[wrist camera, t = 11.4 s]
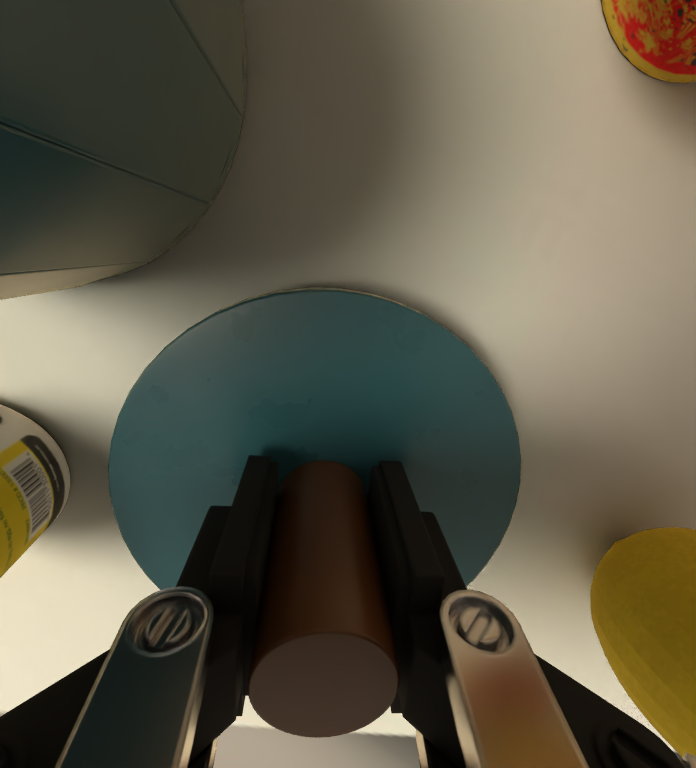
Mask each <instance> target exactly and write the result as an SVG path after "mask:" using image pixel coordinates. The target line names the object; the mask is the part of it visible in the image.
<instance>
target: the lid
mask: <svg viewBox="0 0 696 768" xmlns="http://www.w3.org/2000/svg"><path fill="white" fill-rule="evenodd" d="M249 455H259V456H271V462H278V464H279V466H278V497H277V506H276V512H275V518H274V525H273V531H272V537H271V543H270V549H269V555H268V561H267V567H266V573H265V579H264V585H263V591H262V597H261V604H260V610H259V616H258V622H257V628H256V634H255V638H254V643H253V649H252V656H251V662H250V668H249V674H248V681H247V690H248V696H249V699H250V702H251V704H252V706H253V708H254V710H255V711H256V712H257V714H258V715H259V716H260V717H261V718H262V719H263V720H264V721H266V722H267V723H268V724H270V725H271V726H273V727H275V728H277V729H279V730H281V731H284V732H286V733H290V734H293V735H298V736H304V737H331V736H338V735H342V734H346V733H350V732H353V731H356V730H358V729H360V728H362V727H365V726H366V725H368V724H370V723H372V722H373V721H375V720H376V719H377V718H379V717H380V716H381V715H382V714H383V713H384V712H385V711H386V710H387V709H388V708H389V707H390V705H391V704H392V702H393V701H394V699H395V697H396V695H397V692H398V688H399V684H400V669H399V664H398V659H397V654H396V648H395V643H394V638H393V633H392V628H391V623H390V617H389V612H388V607H387V602H386V596H385V591H384V586H383V581H382V575H381V570H380V565H379V560H378V555H377V549H376V544H375V539H374V534H373V528H372V523H371V518H370V513H369V507H368V502H367V500H368V491H369V483H370V474H371V468H372V466H378V465H379V462H380V460H382V461H401V462H402V465H403V467H404V470H405V472H406V475H407V478H408V480H409V483H410V485H411V488H412V491H413V493H414V496H415V498H416V501H417V504H418V506H419V509H420V512H432V513H434V515H435V517H436V519H437V521H438V523H439V526H440V528H441V530H442V533H443V535H444V537H445V539H446V542H447V544H448V546H449V549H450V551H451V553H452V556H453V558H454V560H455V563H456V565H457V567H458V570H459V572H460V574H461V576H462V579H463V581H464V583H465V586H466V587H467V586H468V585H469V584H470V583H471V582H472V581H473V580H474V579H475V577H476V576H477V575H478V574H479V573H480V572H481V570H482V569H483V568H484V567H485V566H486V564H487V563H488V562H489V560H490V559H491V557H492V556H493V554H494V553H495V551H496V549H497V548H498V546H499V545H500V543H501V541H502V539H503V537H504V535H505V533H506V530H507V528H508V526H509V524H510V521H511V518H512V515H513V512H514V509H515V506H516V502H517V496H518V491H519V485H520V471H521V455H520V447H519V438H518V433H517V429H516V425H515V422H514V418H513V414H512V411H511V409H510V407H509V404H508V402H507V400H506V398H505V395H504V393H503V391H502V389H501V387H500V386H499V384H498V383H497V381H496V380H495V378H494V376H493V375H492V373H491V372H490V370H489V369H488V367H487V366H486V365H485V364H484V363H483V362H482V361H481V359H480V358H479V357H478V356H477V355H476V354H475V353H474V351H473V350H472V349H471V348H470V347H469V346H468V345H466V344H465V343H464V342H463V341H462V340H460V339H459V338H458V337H457V336H456V335H455V334H453V333H452V332H451V331H450V330H448V329H447V328H445V327H444V326H442V325H440V324H439V323H437V322H436V321H434V320H432V319H431V318H429V317H428V316H426V315H424V314H423V313H421V312H419V311H417V310H415V309H412V308H410V307H408V306H406V305H404V304H401V303H399V302H397V301H394V300H391V299H388V298H384V297H381V296H377V295H374V294H370V293H367V292H361V291H354V290H347V289H340V288H299V289H291V290H282V291H275V292H271V293H268V294H264V295H260V296H256V297H252V298H248V299H245V300H243V301H241V302H238V303H236V304H233V305H231V306H229V307H226V308H224V309H221V310H219V311H217V312H216V313H214V314H212V315H210V316H209V317H207V318H205V319H204V320H202V321H200V322H199V323H197V324H195V325H193V326H192V327H190V328H189V329H187V330H186V331H185V332H183V333H182V334H181V335H180V336H178V337H177V338H176V339H175V340H174V341H172V342H171V343H170V344H169V345H167V346H166V347H165V348H164V349H163V350H162V351H161V352H160V353H159V354H158V355H157V356H156V358H155V359H154V360H153V361H152V362H151V363H150V364H149V365H148V366H147V367H146V368H145V370H144V371H143V373H142V374H141V376H140V377H139V379H138V380H137V382H136V383H135V385H134V386H133V387H132V389H131V390H130V392H129V394H128V396H127V399H126V401H125V403H124V405H123V407H122V409H121V411H120V413H119V416H118V419H117V423H116V426H115V430H114V433H113V437H112V440H111V448H110V456H109V465H108V472H109V492H110V497H111V502H112V507H113V512H114V516H115V519H116V521H117V524H118V527H119V530H120V532H121V535H122V537H123V539H124V541H125V543H126V545H127V547H128V548H129V550H130V552H131V554H132V556H133V558H134V559H135V560H136V562H137V563H138V564H139V566H140V567H141V568H142V570H143V571H144V573H145V574H146V575H147V576H148V577H149V579H150V580H151V581H152V582H153V583H154V584H155V585H156V586H157V587H158V588H159V589H160V590H164V589H166V588H172V587H176V585H177V582H178V580H179V578H180V575H181V573H182V571H183V568H184V566H185V564H186V561H187V559H188V556H189V554H190V552H191V549H192V547H193V545H194V542H195V540H196V538H197V535H198V533H199V530H200V528H201V526H202V523H203V521H204V519H205V516H206V514H207V512H208V510H209V508H210V506H212V505H215V506H232V503H233V500H234V497H235V494H236V492H237V489H238V486H239V483H240V480H241V477H242V474H243V471H244V468H245V465H246V462H247V459H248V456H249Z"/></svg>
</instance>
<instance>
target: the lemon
mask: <svg viewBox="0 0 696 768" xmlns="http://www.w3.org/2000/svg"><path fill="white" fill-rule="evenodd" d="M590 599H591V615H592V620H593V624H594V628H595V631H596V633H597V636H598V638H599V641H600V643H601V646H602V648H603V651H604V653H605V656H606V658H607V660H608V662H609V664H610V666H611V668H612V670H613V671H614V673H615V675H616V677H617V678H618V680H619V682H620V683H621V685H622V686H623V688H624V689H625V691H626V692H627V694H628V695H629V697H630V698H631V699H632V701H633V702H634V703H635V705H636V706H637V707H638V709H639V710H640V711H641V712H642V714H643V715H644V716H645V717H646V718H647V720H648V721H649V722H650V723H651V724H652V726H653V727H654V728H655V729H656V730H657V731H658V732H659V733H660V734H661V735H662V737H663V738H664V739H665V740H666V741H667V742H668V743H669V744H670V745H671V746H672V747H673V748H674V749H675V750H676V751H677V752H678V753H679V754H680V755H681V756H682V757H683V756H684V754H685V752H686V753H689V754H691V755H694V756H696V530H694V529H688V528H678V527H668V528H655V529H648V530H645V531H641V532H637V533H635V534H633V535H631V536H629V537H627V538H625V539H623V540H618V541H616V542H615V543H614V544H613V545H612V547H611V549H610V550H609V551H608V552H607V553H606V554H605V555H604V556H603V558H602V559H601V561H600V563H599V564H598V566H597V568H596V571H595V574H594V577H593V581H592V584H591V593H590Z"/></svg>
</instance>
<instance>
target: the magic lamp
mask: <svg viewBox="0 0 696 768" xmlns="http://www.w3.org/2000/svg"><path fill="white" fill-rule="evenodd" d="M602 6H603V11H604V15H605V18H606V21H607V24H608V27H609V30H610V33H611V35H612V36H613V38H614V40H615V42H616V44H617V45H618V47H619V49H620V51H621V52H622V53H623V54H624V55H625V56H626V57H627V59H628V60H629V61H630V62H631V63H632V64H633V65H634V66H635V67H637V68H638V69H640V70H641V71H643V72H644V73H646V74H647V75H649V76H651V77H654V78H657V79H660V80H664V81H667V82H680V83H689V82H695V81H696V0H602Z"/></svg>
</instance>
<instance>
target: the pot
mask: <svg viewBox="0 0 696 768" xmlns="http://www.w3.org/2000/svg"><path fill="white" fill-rule="evenodd" d="M246 79H247V67H246V49H245V35H244V29H243V9H242V2H241V0H0V300H2V299H8V298H14V297H20V296H26V295H32V294H38V293H44V292H50V291H56V290H62V289H68V288H74V287H79V286H82V285H85V284H88V283H91V282H94V281H97V280H100V279H104V278H108V277H112V276H115V275H119V274H123V273H125V272H128V271H130V270H132V269H135V268H137V267H140V266H142V265H144V264H147V263H149V262H150V261H153V260H154V259H155V258H156V257H158V256H159V255H161V254H163V253H164V252H166V251H168V250H169V249H170V248H171V247H172V246H173V245H175V244H176V243H177V242H178V241H179V240H181V239H182V238H183V237H184V236H185V235H186V234H187V233H188V232H189V231H190V230H191V229H192V228H193V227H194V225H195V224H196V223H197V222H198V221H199V220H200V219H201V217H202V216H203V215H204V214H205V212H206V211H207V209H208V208H209V206H210V204H211V203H212V201H213V200H214V198H215V197H216V195H217V194H218V192H219V190H220V188H221V186H222V184H223V181H224V179H225V177H226V175H227V173H228V171H229V168H230V166H231V163H232V160H233V157H234V153H235V150H236V147H237V144H238V140H239V137H240V131H241V126H242V120H243V114H244V109H245V96H246Z"/></svg>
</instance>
